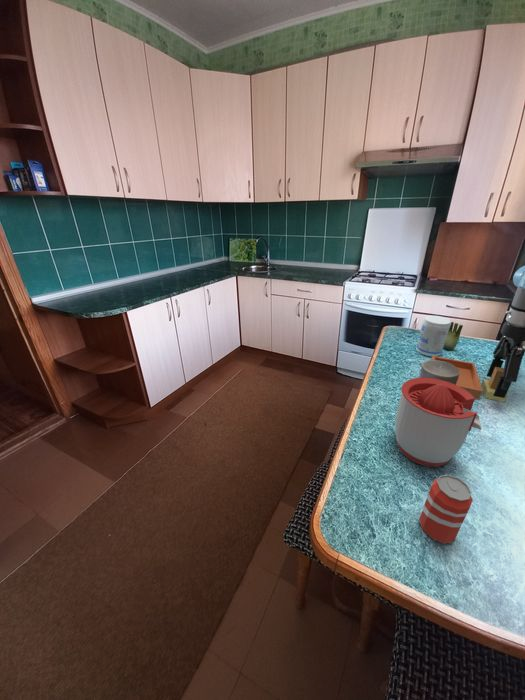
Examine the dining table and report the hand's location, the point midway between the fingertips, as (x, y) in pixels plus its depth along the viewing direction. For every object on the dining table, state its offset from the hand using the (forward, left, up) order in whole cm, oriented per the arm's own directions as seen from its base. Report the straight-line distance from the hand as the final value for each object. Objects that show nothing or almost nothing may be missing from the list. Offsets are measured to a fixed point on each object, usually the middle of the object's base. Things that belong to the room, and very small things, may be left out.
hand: (495, 386), depth 94 cm
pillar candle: (+18, +16, -3) cm, 25 cm away
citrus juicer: (+19, +37, -3) cm, 42 cm away
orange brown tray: (+11, -4, -3) cm, 12 cm away
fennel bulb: (+11, -31, -3) cm, 33 cm away
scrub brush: (0, 0, -3) cm, 3 cm away
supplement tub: (+18, -24, -3) cm, 30 cm away
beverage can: (+17, +58, -3) cm, 61 cm away
